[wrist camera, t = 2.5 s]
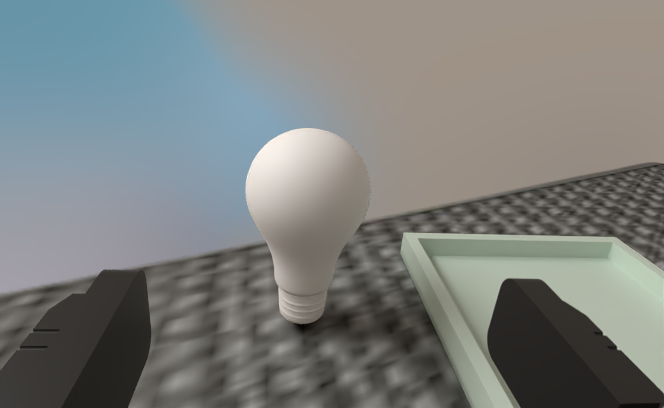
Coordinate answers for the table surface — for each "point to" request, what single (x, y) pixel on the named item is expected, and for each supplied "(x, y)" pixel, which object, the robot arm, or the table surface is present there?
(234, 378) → the table surface
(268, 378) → the table surface
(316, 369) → the table surface
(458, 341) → the parts tray
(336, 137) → the lightbulb
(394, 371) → the table surface
